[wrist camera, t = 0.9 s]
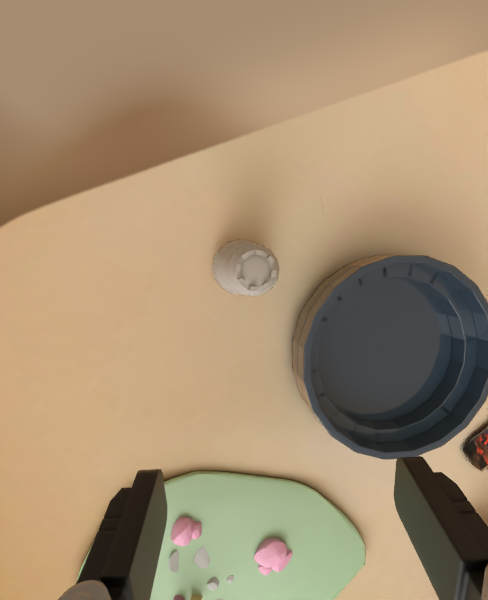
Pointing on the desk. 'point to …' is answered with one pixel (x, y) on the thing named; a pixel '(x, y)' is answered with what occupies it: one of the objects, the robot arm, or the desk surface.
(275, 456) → the desk surface
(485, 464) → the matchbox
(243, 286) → the rook chess piece
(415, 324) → the dish
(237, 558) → the green blossom tree diorama
